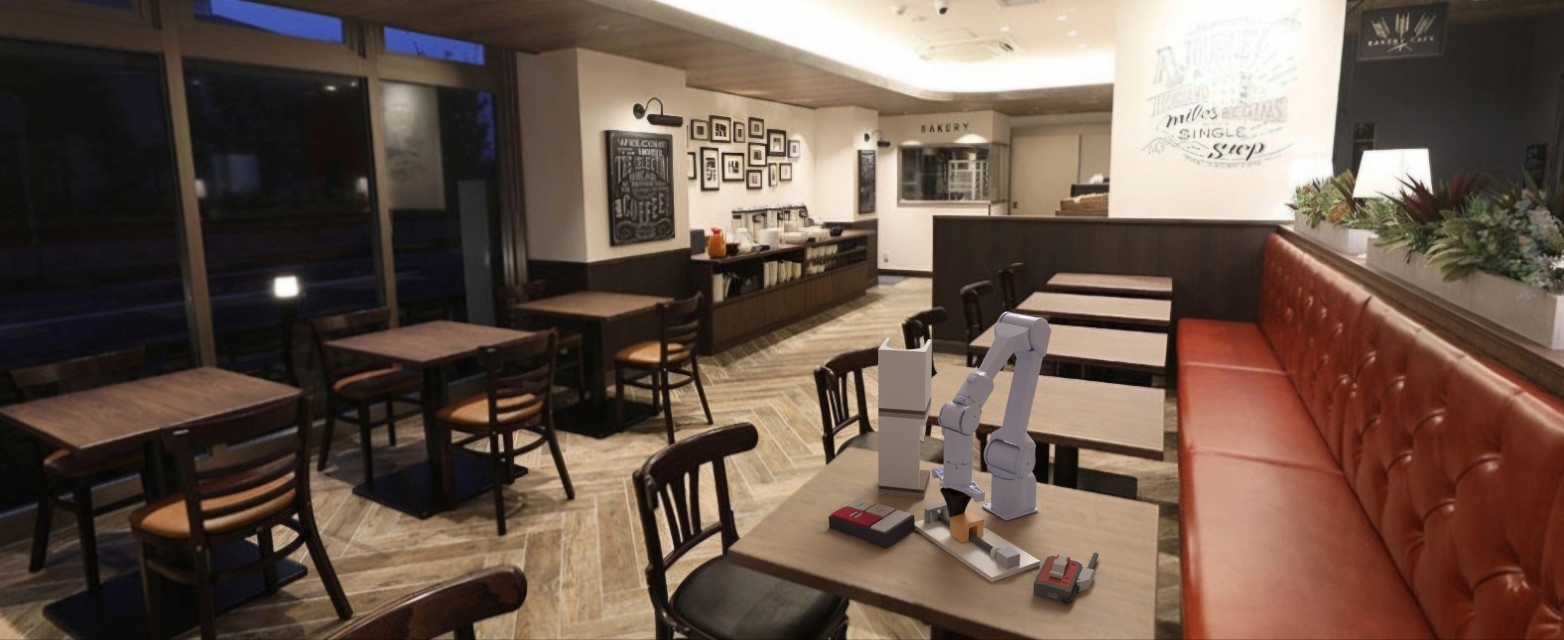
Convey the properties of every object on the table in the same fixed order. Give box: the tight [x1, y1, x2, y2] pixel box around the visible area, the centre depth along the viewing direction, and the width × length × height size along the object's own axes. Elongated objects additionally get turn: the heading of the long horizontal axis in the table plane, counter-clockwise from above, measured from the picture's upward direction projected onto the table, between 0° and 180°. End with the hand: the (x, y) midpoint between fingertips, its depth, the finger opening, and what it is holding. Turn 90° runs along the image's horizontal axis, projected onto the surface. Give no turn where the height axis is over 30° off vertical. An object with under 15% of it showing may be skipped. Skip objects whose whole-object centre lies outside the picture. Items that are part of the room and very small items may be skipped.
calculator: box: [828, 498, 916, 550], centre depth 169 cm, size 11×4×15 cm
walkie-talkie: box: [1032, 552, 1100, 606], centre depth 148 cm, size 9×4×20 cm
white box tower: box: [877, 337, 933, 499], centre depth 186 cm, size 11×11×35 cm
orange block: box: [950, 510, 985, 543], centre depth 162 cm, size 5×4×4 cm
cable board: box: [915, 501, 1041, 583], centre depth 161 cm, size 12×25×4 cm, turn 27°
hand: (956, 520), depth 165 cm, fingers closed
